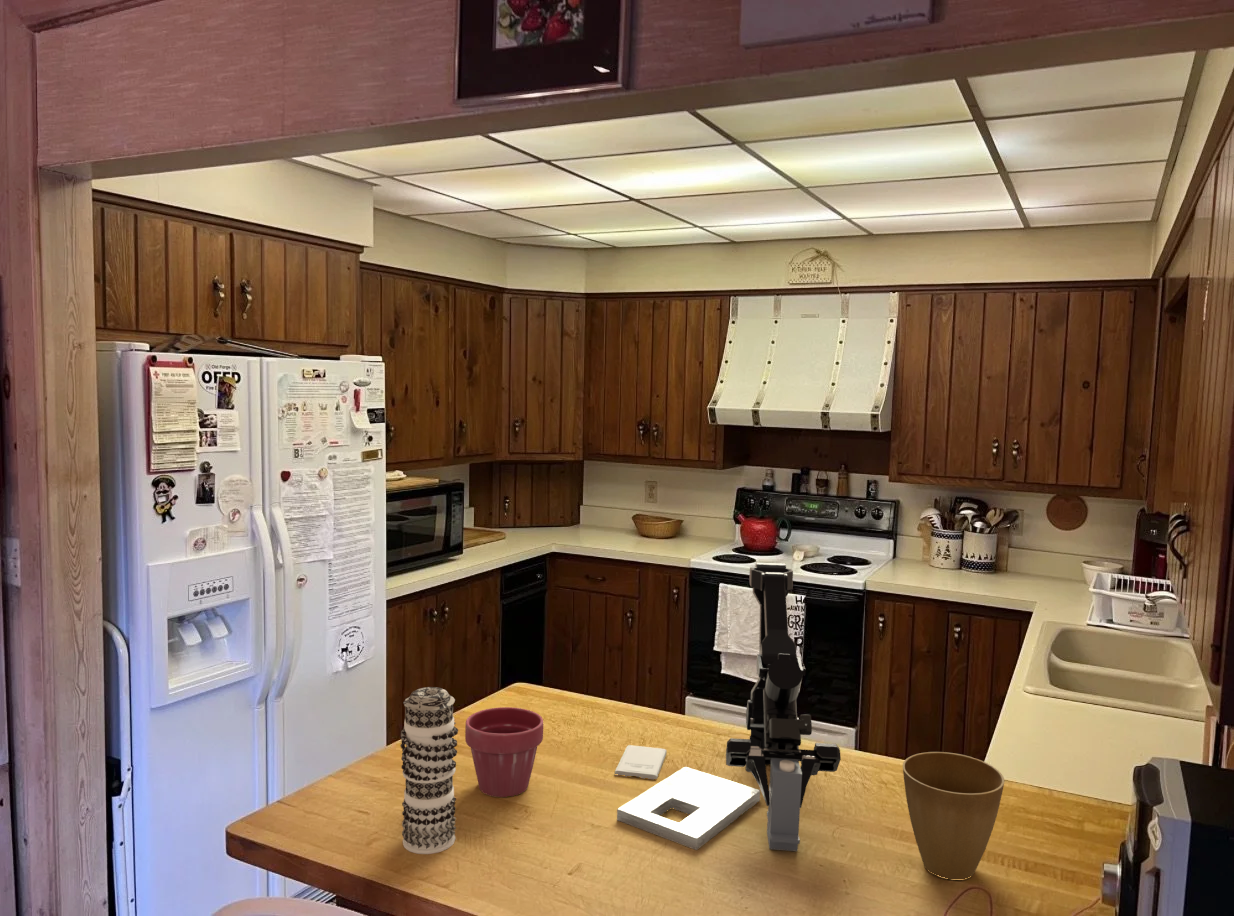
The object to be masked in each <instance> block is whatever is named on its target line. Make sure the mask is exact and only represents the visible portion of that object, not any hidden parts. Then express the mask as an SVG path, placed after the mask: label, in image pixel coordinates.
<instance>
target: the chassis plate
mask: <svg viewBox="0 0 1234 916" xmlns="http://www.w3.org/2000/svg"><path fill="white" fill-rule="evenodd" d="M760 801H761V790H760V789H757V788H755V787H751V786H749V785H748V786H747V785H745V784H742V783H738V782H736V781H732V780H729V779H727V778H724V777H720V776H716V775H713V774H710V773H707V772H704V771H701V770H698V769H694V768H691V767H688V766H684V767H682V768H681V769H679V770H677V771H676V772H674V773H672V774H671V775H670V776H668V777H666V778H664V779H663V780H661V781H660V782H658V783H656V784H654V786H652V787H650V788H648V789H646V790H645V791H644V792H642V793H640V794H639V795H637V796H636V797H634V798H632V799H631V800H629V801H628V802H626V803H624V804H623V805H621V806H619V807H618V808H617V810H616V821H619V822H622V823H623V824H626V825H629V826H631V827H634V828H637V829H639V830H641V831H644V832H647V833H650V834H653V835H656V836H658V837H660V838H663V839H666V840H668V841H671V842H674V843H677V844H679V845H682V846H683V847H684V846H685V847H687V848H690V849H692V850H696V851H698V850H699V849H700V848H701V847H703V846H704V845H705V844H706V843H708V842H709V841H710V840H712V838H713V839H714V837H715V836H717V835H718V834H720V832H721V831H723V830H725V828H727V827H728V826H729V825H730V823H731V824H732V823H733V822H735V821H736V820H737V819H739V818H740V817H741V816H742V815H744V814H745V813H746V812H747V811H748V809H749V808H750V809H752V808H753V807H752V806H755V805H757V804H758V803H759V802H760ZM757 802H758V803H757ZM670 808H671V809H672V808H674V809H673V810H675V809H676V810H675V811H678V810H679V811H678V812H680V811H681V813H683V812H684V814H686V813H687V814H686V815H688V816H687V817H685V818H684V819H683V820H681V821H680V822H678V821H675V820H672V819H669V818H667V817H663V816H662V815H664V814H665V813H666V811H667V810H668V811H669V809H670ZM671 809H670V810H671ZM750 809H749V810H750ZM668 811H667V812H668ZM745 811H746V812H745ZM664 812H665V813H664ZM744 812H745V813H744ZM663 813H664V814H663ZM743 813H744V814H743ZM689 814H690V815H689ZM741 814H742V815H741ZM660 815H661V816H660ZM740 815H741V816H740ZM739 816H740V817H739ZM734 820H735V821H734Z"/></svg>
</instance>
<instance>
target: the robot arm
mask: <svg viewBox="0 0 1234 916" xmlns="http://www.w3.org/2000/svg"><path fill="white" fill-rule="evenodd" d="M748 577H749V586H750V587H751V588H752V594H753V596H754V598H755V600H756V602H757V603H758V605H759V639H758V641H759V646H758V647H759V649H758V651H759V652H758V654H757V655H756V675H757V676H758V679H757V680H756V682H755V684H754V686H753V687H752V689H751V691H750V699H748V700H747V702H746V703H747V705H746V710H745V724H746V730H747V731H750V735H749V738H733V737H731V738H729V739H728V740H727V742H726V750H725V765H726V766H728V767H741V768H744V767H745V771H746V772H748V773H751V774H752V776H753V778H754V780H755V781H756V783H757V784H758V788H759V790H760V793H761V794H762V797H763V800H764V803H765V805H766V806H767V807H768V806H769V804H770V795H769V780H768V776H767V766H771V758H778V759H792V760H798V761H799V762H800V769H801V772H802V782H801V799H800V809H801V808H802V806H803V802H804V799H805V793H806V790H807V786H808V785H809V784H808V783H809V781H810V778H811V776H817V775H818V773H819V772H828V773H829V772H830V773H831V772H832V773H833V772H836V771H837V770H838V768H839V765H840V762H841V760H842V759H841V749H840V747H839V746H838V745H837V744H836V743H826V742H823V743H822V742H815V744H814V748H813V749H803V748H802V749H800V746H801V745H802V739H801V738H802V736H811V735H812V733H813V730H812V729H813V728H812V726H813V725H812V724H813V723H812V722H813V721H812V714H800V715H798V713H797V712H798V711H797V699H798V696H799V694H800V688H801V684H802V680H803V677H804V676H806V667H805V664H804V662H803V661H802V660H801V656H800V655H799V656H798V654H797V645H796V643H795V641H794V640H793V639H792V637H790V635H789V623H788V610H787V609H788V608H787V596H788V594H789V590H793V589H794V588H793V586H794V585H793V584H794V583H793V582H794V571H793V569H792V568H787V565H786V563H784V562H763V561H762V562H761V561H759V562H758V561H756V562H755V567H753V566H752V567H749V576H748Z"/></svg>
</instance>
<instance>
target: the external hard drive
mask: <svg viewBox="0 0 1234 916" xmlns="http://www.w3.org/2000/svg"><path fill="white" fill-rule="evenodd" d="M666 756H667V749H665V748H660V747H650V746H644V745H642V746H641V745H631V744H628V745H627V746H626V747H625V750H624V752H623V754H622V755H621V758H620V760H619V763H618V764H617V766H616V768H615V771H614V775H615V774H618V775H625V776H624V777H627V776H636V777H635V778H639V777H641V778H640V779H645V778H648V779H647V780H654V779H657V780H658V776H659V775H658V774H660V772H661V769H662V767H663V764H664V761H665V758H666ZM618 775H617V776H618Z"/></svg>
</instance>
